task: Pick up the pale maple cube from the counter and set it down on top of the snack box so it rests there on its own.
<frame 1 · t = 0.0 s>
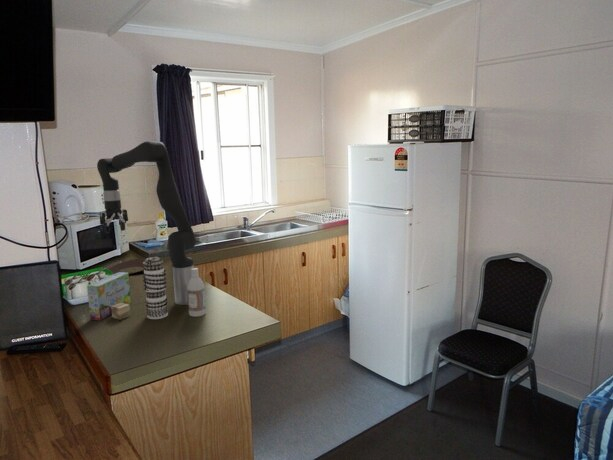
hand: (115, 231, 218), 29 cm above the counter, fingers open, 8 cm apart
decorative candle: (157, 315, 185), on the counter
bath foam: (197, 314, 186), on the counter
maple block: (121, 316, 184), on the counter
snack box: (111, 311, 190), on the counter
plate: (133, 269, 258), on the counter
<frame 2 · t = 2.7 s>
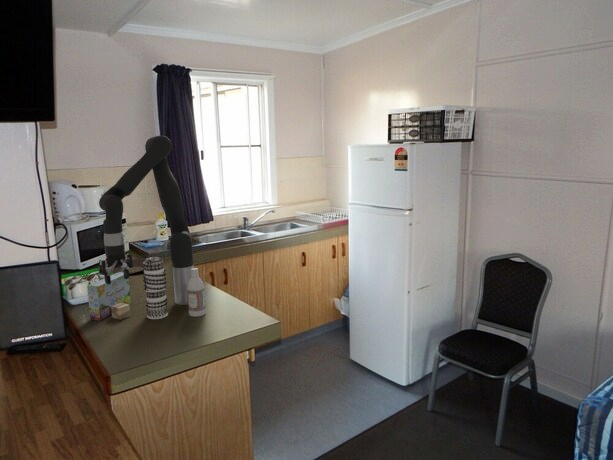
hand: (117, 281, 182), 15 cm above the counter, fingers open, 8 cm apart
nothing on the counter moved.
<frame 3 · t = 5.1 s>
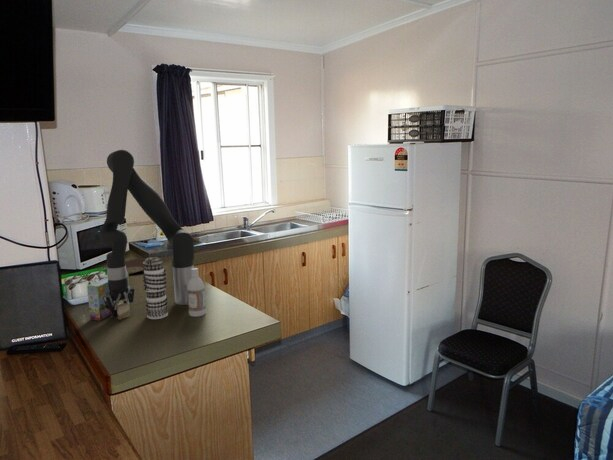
hand: (121, 315, 184), 0 cm above the counter, fingers closed on maple block, 5 cm apart
maple block: (121, 316, 184), on the counter, touching gripper
everything else where it was.
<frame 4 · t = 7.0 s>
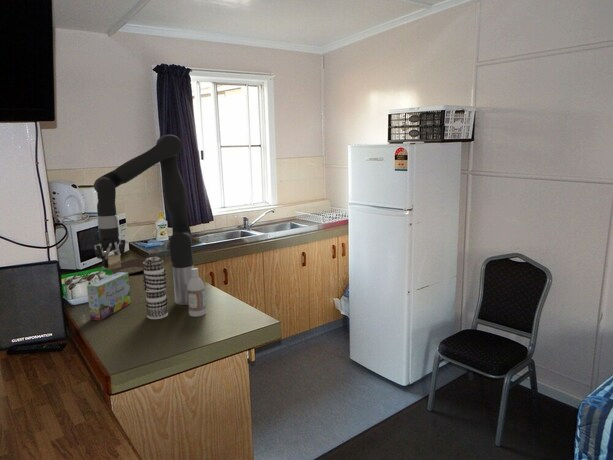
hand: (112, 266, 182), 22 cm above the counter, fingers closed on maple block, 5 cm apart
maple block: (112, 267, 182), point 21 cm above the counter, touching gripper
everything else where it was.
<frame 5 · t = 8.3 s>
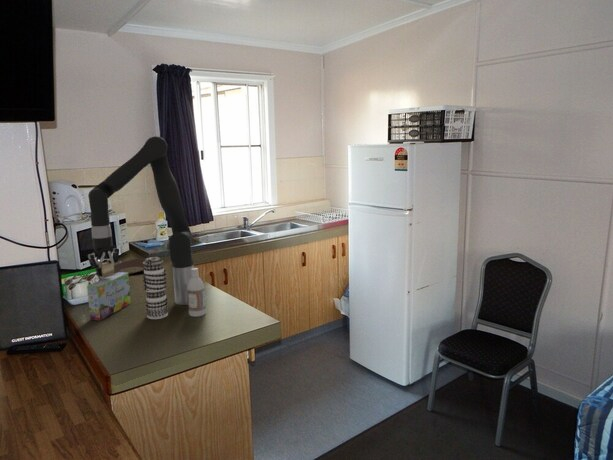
hand: (105, 274, 186), 17 cm above the counter, fingers closed on maple block, 5 cm apart
maple block: (105, 275, 187), point 16 cm above the counter, touching gripper
everything else where it was.
when the fingers open (17 cm above the counter, at t = 9.0 s): maple block drops 1 cm, resting on snack box.
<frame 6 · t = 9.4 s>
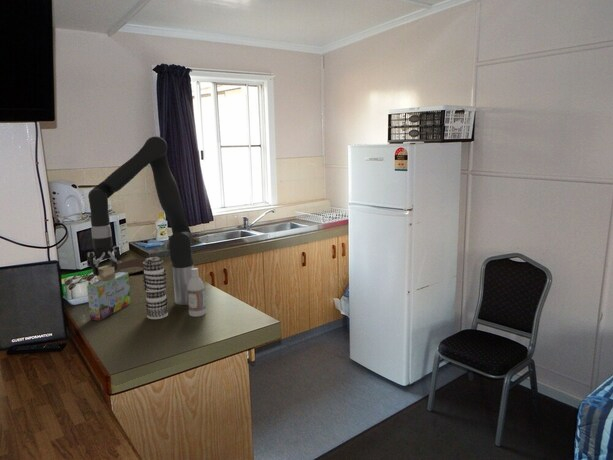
hand: (105, 273, 186), 18 cm above the counter, fingers open, 8 cm apart
maple block: (106, 278, 187), point 15 cm above the counter, touching snack box
snack box: (111, 312, 190), on the counter, touching maple block
everything else where it was.
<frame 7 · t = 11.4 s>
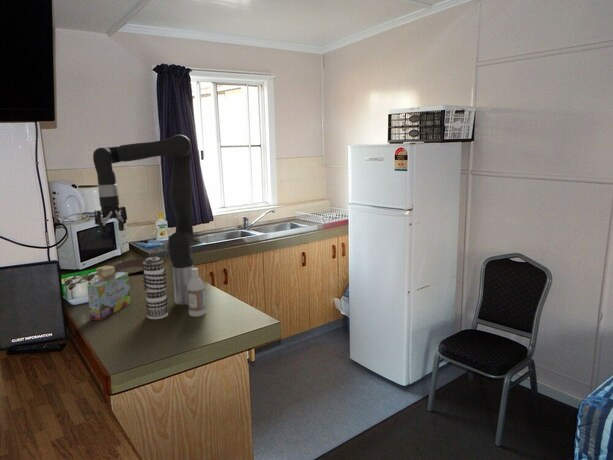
hand: (112, 232, 189), 34 cm above the counter, fingers open, 8 cm apart
nothing on the counter moved.
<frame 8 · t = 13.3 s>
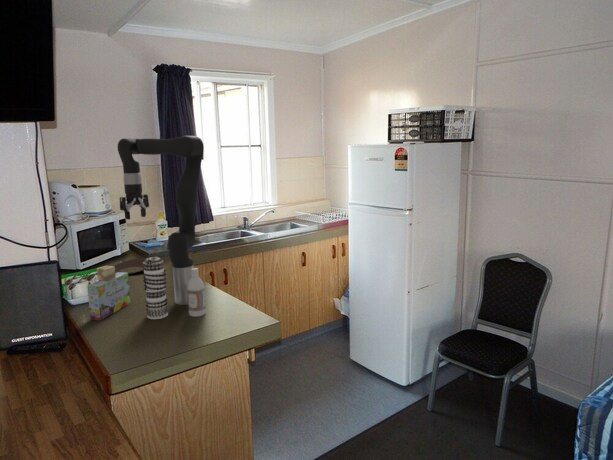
hand: (135, 218, 202), 38 cm above the counter, fingers open, 8 cm apart
nothing on the counter moved.
at the end: maple block inside the target area on the snack box (0.7 cm from its centre), point 15.3 cm above the snack box's base; maple block touching snack box; the gripper is holding nothing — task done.
